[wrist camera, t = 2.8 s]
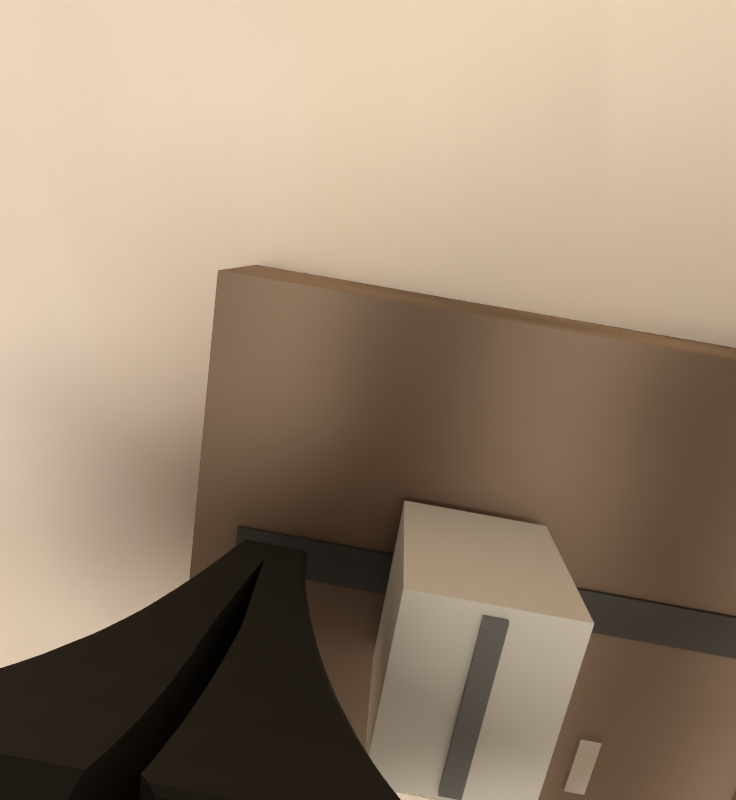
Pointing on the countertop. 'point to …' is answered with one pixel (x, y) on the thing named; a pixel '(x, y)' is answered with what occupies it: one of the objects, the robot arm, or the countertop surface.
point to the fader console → (493, 494)
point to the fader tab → (473, 657)
